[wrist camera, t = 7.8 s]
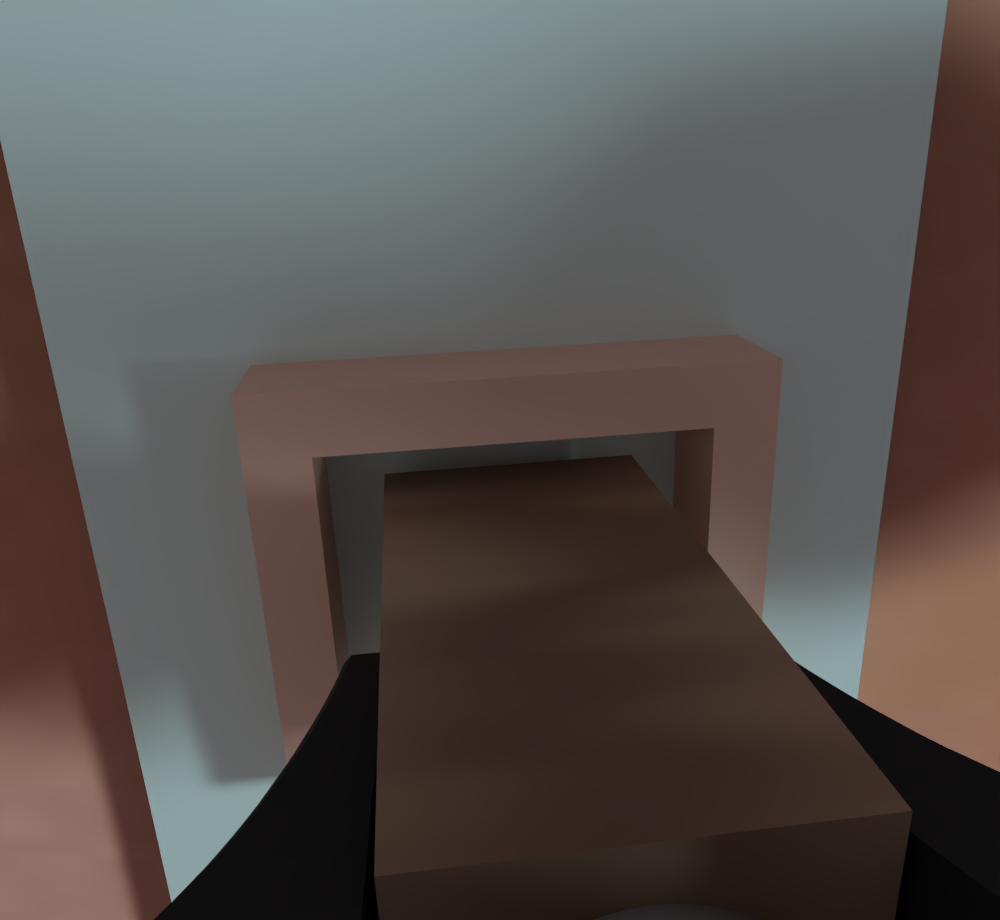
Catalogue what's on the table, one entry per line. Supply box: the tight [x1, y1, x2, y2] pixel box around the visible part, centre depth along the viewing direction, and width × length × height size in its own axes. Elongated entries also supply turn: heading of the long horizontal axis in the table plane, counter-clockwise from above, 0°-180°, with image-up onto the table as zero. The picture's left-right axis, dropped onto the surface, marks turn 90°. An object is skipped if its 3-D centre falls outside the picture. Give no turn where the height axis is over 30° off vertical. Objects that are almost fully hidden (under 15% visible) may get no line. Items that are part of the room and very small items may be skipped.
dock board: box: [0, 0, 948, 902], centre depth 15 cm, size 14×20×3 cm
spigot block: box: [374, 455, 913, 920], centre depth 10 cm, size 4×4×9 cm
